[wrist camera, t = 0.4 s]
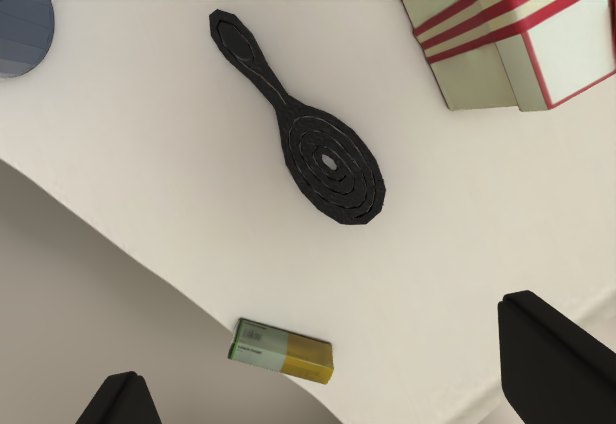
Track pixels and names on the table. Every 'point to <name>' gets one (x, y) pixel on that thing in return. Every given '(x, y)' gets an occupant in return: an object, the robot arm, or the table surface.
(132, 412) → the robot arm
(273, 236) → the table surface
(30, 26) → the crock
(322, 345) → the medication box
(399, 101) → the table surface
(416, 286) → the table surface
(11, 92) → the table surface
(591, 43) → the gift box
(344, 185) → the hairbrush
